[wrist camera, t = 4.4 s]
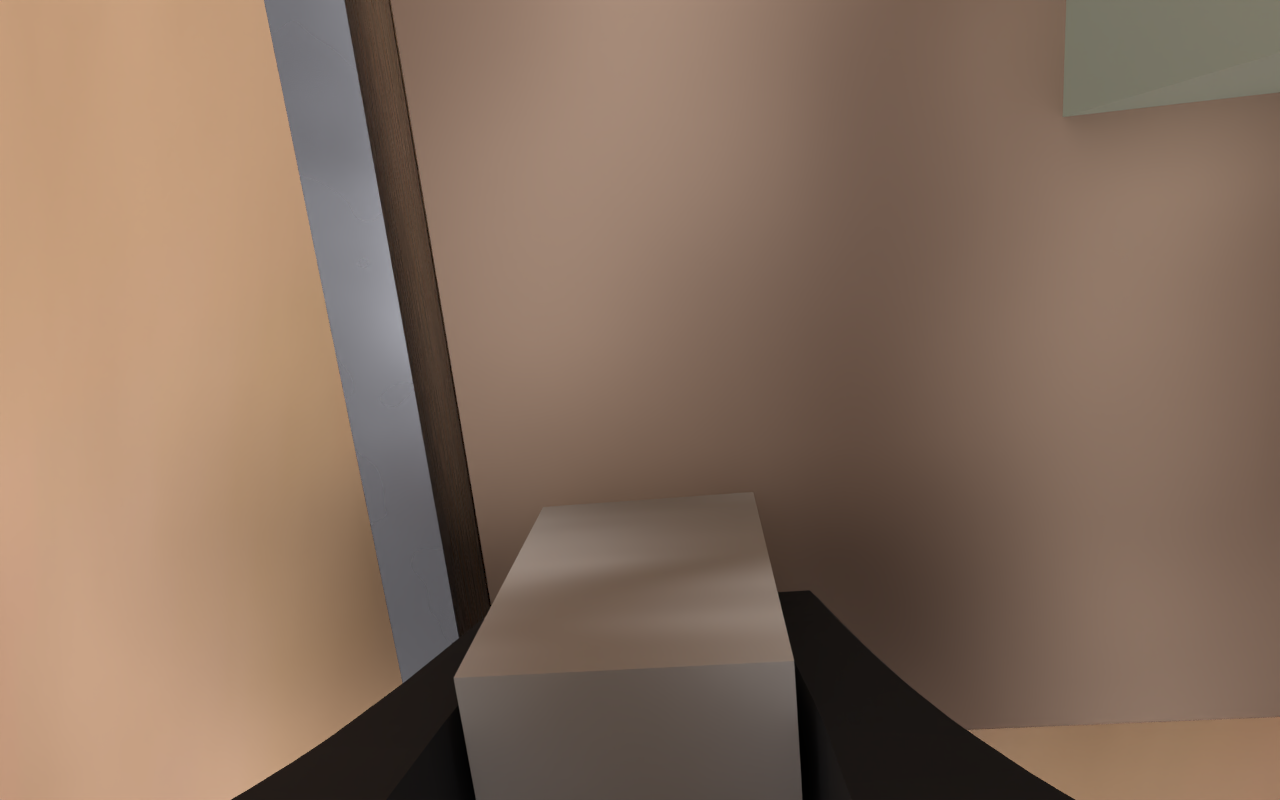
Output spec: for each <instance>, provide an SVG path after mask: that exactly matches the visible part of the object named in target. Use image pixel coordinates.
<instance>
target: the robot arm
mask: <svg viewBox="0 0 1280 800" xmlns="http://www.w3.org/2000/svg"><path fill="white" fill-rule="evenodd" d="M778 596H779V600H780V604H781V609H782V613H783V617H784V621H785V625H786V629H787V633H788V637H789V642H790V646H791V650H792V654H793V658H794V666H795V683H796V700H797V717H798V733H799V750H800V767H801V784H802V800H1075V799H1073V798H1071V797H1070V796H1068V795H1066V794H1064V793H1063V792H1061V791H1059V790H1058V789H1056V788H1054V787H1053V786H1051V785H1049V784H1048V783H1046V782H1044V781H1043V780H1041V779H1040V778H1038V777H1036V776H1035V775H1033V774H1031V773H1030V772H1028V771H1027V770H1025V769H1024V768H1022V767H1021V766H1019V765H1018V764H1016V763H1015V762H1013V761H1012V760H1010V759H1009V758H1007V757H1006V756H1004V755H1003V754H1001V753H1000V752H998V751H997V750H995V749H994V748H992V747H991V746H989V745H988V744H986V743H985V742H983V741H982V740H980V739H979V738H977V737H976V736H974V735H973V734H971V733H970V732H969V731H967V730H966V729H964V728H963V727H962V726H960V725H959V724H958V723H956V722H955V721H953V720H952V719H951V718H949V717H948V716H947V715H946V714H944V713H943V712H942V711H940V710H939V709H938V708H937V707H935V706H934V705H933V704H932V703H930V702H929V701H928V700H927V699H925V698H924V697H923V696H921V695H920V694H919V693H918V692H916V691H915V690H914V689H913V688H912V687H910V686H909V685H908V684H907V683H906V682H905V681H903V680H902V679H901V678H900V677H899V676H898V675H897V674H896V673H895V672H893V671H892V670H891V669H890V668H889V667H888V666H887V665H886V664H885V663H883V662H882V661H881V660H880V659H879V658H878V657H877V656H876V655H875V654H873V653H872V652H871V651H870V650H869V649H868V648H867V647H866V646H865V645H864V644H863V643H862V642H861V641H860V640H859V639H858V638H857V637H856V636H855V635H854V634H853V633H852V632H851V631H850V630H849V629H848V628H847V627H846V626H845V625H844V624H843V623H842V622H841V621H840V620H839V619H838V618H837V617H836V616H835V615H834V614H833V613H832V612H831V611H830V610H829V609H828V608H827V607H826V606H825V605H824V604H823V602H822V601H821V600H820V599H819V598H818V597H817V596H815V595H814V594H813V593H812V592H811V591H810V590H806V591H788V592H778ZM484 619H485V618H483V619H482V620H481V621H479V622H478V623H477V624H476V625H474V626H473V627H472V628H471V629H469V630H468V631H467V632H466V633H464V634H463V635H462V636H461V637H459V638H458V639H457V640H456V641H455V642H453V643H452V644H451V645H450V646H449V647H447V648H446V649H445V650H444V651H442V652H441V653H440V654H439V655H437V656H436V657H435V658H434V659H432V660H431V661H430V662H429V663H428V664H426V665H425V666H424V667H423V668H421V669H420V670H419V671H418V672H416V673H415V674H414V675H413V676H411V677H410V678H409V679H408V680H406V681H405V682H404V683H403V684H401V685H400V686H399V687H398V688H396V689H395V690H394V691H392V692H391V693H389V694H388V695H387V696H385V697H384V698H383V699H381V700H380V701H379V702H377V703H376V704H375V705H373V706H372V707H371V708H369V709H368V710H366V711H365V712H364V713H362V714H361V715H360V716H358V717H357V718H356V719H354V720H353V721H352V722H350V723H349V724H347V725H346V726H345V727H343V728H342V729H341V730H339V731H338V732H337V733H335V734H334V735H332V736H331V737H330V738H328V739H327V740H325V741H324V742H322V743H321V744H319V745H318V746H316V747H315V748H313V749H312V750H310V751H309V752H307V753H306V754H304V755H303V756H301V757H300V758H298V759H297V760H295V761H294V762H292V763H291V764H289V765H287V766H286V767H284V768H282V769H281V770H279V771H278V772H276V773H274V774H273V775H271V776H270V777H268V778H266V779H265V780H263V781H261V782H260V783H258V784H257V785H255V786H253V787H252V788H250V789H249V790H247V791H245V792H243V793H242V794H240V795H238V796H237V797H235V798H233V799H232V800H476V797H475V792H474V786H473V781H472V776H471V770H470V765H469V759H468V754H467V748H466V743H465V738H464V732H463V727H462V721H461V716H460V710H459V705H458V700H457V694H456V689H455V683H454V676H455V674H456V672H457V671H458V669H459V667H460V665H461V663H462V661H463V659H464V657H465V655H466V653H467V651H468V650H469V648H470V646H471V644H472V642H473V640H474V638H475V636H476V634H477V632H478V630H479V629H480V627H481V625H482V623H483V621H484Z"/></svg>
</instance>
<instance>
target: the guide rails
mask: <svg viewBox="0 0 1280 800" xmlns="http://www.w3.org/2000/svg"><path fill="white" fill-rule="evenodd" d="M264 3H265V7H266V12H267V17H268V22H269V27H270V32H271V37H272V42H273V47H274V52H275V57H276V62H277V67H278V71H279V76H280V81H281V86H282V91H283V96H284V101H285V106H286V111H287V116H288V121H289V126H290V131H291V136H292V140H293V145H294V150H295V155H296V160H297V165H298V170H299V175H300V180H301V185H302V190H303V195H304V200H305V204H306V209H307V214H308V219H309V224H310V229H311V234H312V239H313V244H314V249H315V254H316V259H317V264H318V269H319V273H320V278H321V283H322V288H323V293H324V298H325V303H326V308H327V313H328V318H329V323H330V328H331V333H332V337H333V342H334V347H335V352H336V357H337V362H338V367H339V372H340V377H341V382H342V387H343V392H344V397H345V402H346V406H347V411H348V416H349V421H350V426H351V431H352V436H353V441H354V446H355V451H356V456H357V461H358V466H359V470H360V475H361V480H362V485H363V490H364V495H365V500H366V505H367V510H368V515H369V520H370V525H371V530H372V534H373V539H374V544H375V549H376V554H377V559H378V564H379V569H380V574H381V579H382V584H383V589H384V594H385V599H386V603H387V608H388V613H389V618H390V623H391V628H392V633H393V638H394V643H395V648H396V653H397V658H398V663H399V667H400V672H401V677H402V682H403V683H404V682H405V681H406V680H408V679H409V678H410V677H411V676H413V675H414V674H415V673H416V672H418V671H419V670H420V669H421V668H423V667H424V666H425V665H426V664H428V663H429V662H430V661H431V660H432V659H434V658H435V657H436V656H437V655H439V654H440V653H441V652H442V651H444V650H445V649H446V648H447V647H449V646H450V645H451V644H452V643H453V642H455V641H456V640H457V639H458V638H459V637H461V636H462V635H463V634H464V633H466V632H467V631H468V630H469V629H471V628H472V627H473V626H474V625H476V624H477V623H478V622H479V621H481V620H482V619H483V618H485V617H486V615H487V613H488V611H489V609H490V606H489V600H488V594H487V588H486V582H485V576H484V570H483V564H482V558H481V552H480V546H479V540H478V534H477V528H476V522H475V516H474V510H473V504H472V498H471V492H470V486H469V480H468V474H467V468H466V462H465V455H464V449H463V443H462V437H461V431H460V425H459V419H458V413H457V407H456V401H455V395H454V389H453V383H452V377H451V371H450V365H449V359H448V353H447V347H446V341H445V335H444V329H443V323H442V317H441V311H440V305H439V299H438V293H437V287H436V281H435V275H434V269H433V263H432V257H431V251H430V245H429V239H428V233H427V227H426V221H425V215H424V209H423V203H422V197H421V191H420V185H419V179H418V173H417V167H416V161H415V155H414V149H413V143H412V137H411V131H410V125H409V119H408V113H407V107H406V101H405V95H404V89H403V83H402V77H401V71H400V65H399V59H398V53H397V47H396V41H395V35H394V29H393V23H392V17H391V11H390V5H389V0H264Z"/></svg>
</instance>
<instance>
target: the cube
mask: <svg viewBox="0 0 1280 800" xmlns="http://www.w3.org/2000/svg"><path fill="white" fill-rule="evenodd" d="M1278 92H1280V0H1066V27H1065V59H1064V91H1063V117H1067V116H1076V115H1085V114H1094V113H1102V112H1111V111H1120V110H1129V109H1137V108H1146V107H1155V106H1164V105H1172V104H1181V103H1190V102H1199V101H1208V100H1216V99H1225V98H1234V97H1243V96H1251V95H1260V94H1269V93H1278Z"/></svg>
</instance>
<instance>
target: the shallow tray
mask: <svg viewBox="0 0 1280 800" xmlns="http://www.w3.org/2000/svg"><path fill="white" fill-rule="evenodd" d="M391 5H392V11H393V17H394V23H395V29H396V35H397V41H398V47H399V53H400V59H401V65H402V71H403V78H404V84H405V90H406V96H407V102H408V108H409V114H410V120H411V126H412V132H413V138H414V144H415V150H416V156H417V162H418V168H419V174H420V180H421V186H422V192H423V198H424V204H425V210H426V216H427V222H428V228H429V234H430V240H431V246H432V252H433V258H434V264H435V270H436V276H437V282H438V288H439V294H440V300H441V306H442V312H443V318H444V324H445V331H446V337H447V343H448V349H449V355H450V361H451V367H452V373H453V379H454V385H455V391H456V397H457V403H458V409H459V415H460V421H461V427H462V433H463V439H464V445H465V451H466V457H467V463H468V469H469V475H470V481H471V487H472V493H473V499H474V505H475V511H476V517H477V523H478V529H479V535H480V541H481V547H482V553H483V559H484V565H485V571H486V577H487V584H488V590H489V596H490V602H491V608H490V609H489V611H488V613H487V615H486V617H485V619H484V621H483V623H482V625H481V627H480V629H479V630H478V632H477V634H476V636H475V638H474V640H473V642H472V644H471V646H470V648H469V650H468V651H467V653H466V655H465V657H464V659H463V661H462V663H461V665H460V667H459V669H458V671H457V672H456V674H455V676H454V683H455V689H456V694H457V700H458V705H459V710H460V716H461V721H462V727H463V732H464V738H465V743H466V748H467V754H468V759H469V765H470V770H471V776H472V781H473V786H474V792H475V797H476V800H802V784H801V767H800V750H799V733H798V717H797V700H796V683H795V666H794V658H793V654H792V650H791V646H790V642H789V637H788V633H787V629H786V625H785V621H784V617H783V613H782V609H781V604H780V600H779V596H778V592H788V591H806V590H810V591H811V592H812V593H813V594H814V595H815V596H817V597H818V598H819V599H820V600H821V601H822V602H823V604H824V605H825V606H826V607H827V608H828V609H829V610H830V611H831V612H832V613H833V614H834V615H835V616H836V617H837V618H838V619H839V620H840V621H841V622H842V623H843V624H844V625H845V626H846V627H847V628H848V629H849V630H850V631H851V632H852V633H853V634H854V635H855V636H856V637H857V638H858V639H859V640H860V641H861V642H862V643H863V644H864V645H865V646H866V647H867V648H868V649H869V650H870V651H871V652H872V653H873V654H875V655H876V656H877V657H878V658H879V659H880V660H881V661H882V662H883V663H885V664H886V665H887V666H888V667H889V668H890V669H891V670H892V671H893V672H895V673H896V674H897V675H898V676H899V677H900V678H901V679H902V680H903V681H905V682H906V683H907V684H908V685H909V686H910V687H912V688H913V689H914V690H915V691H916V692H918V693H919V694H920V695H921V696H923V697H924V698H925V699H927V700H928V701H929V702H930V703H932V704H933V705H934V706H935V707H937V708H938V709H939V710H940V711H942V712H943V713H944V714H946V715H947V716H948V717H949V718H951V719H952V720H953V721H955V722H956V723H958V724H959V725H960V726H962V727H963V728H964V729H966V730H971V729H995V728H1020V727H1044V726H1069V725H1093V724H1118V723H1142V722H1167V721H1191V720H1216V719H1240V718H1265V717H1280V92H1278V93H1269V94H1260V95H1251V96H1243V97H1234V98H1225V99H1216V100H1208V101H1199V102H1190V103H1181V104H1172V105H1164V106H1155V107H1146V108H1137V109H1129V110H1120V111H1111V112H1102V113H1094V114H1085V115H1076V116H1067V117H1063V91H1064V59H1065V27H1066V0H391Z"/></svg>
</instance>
